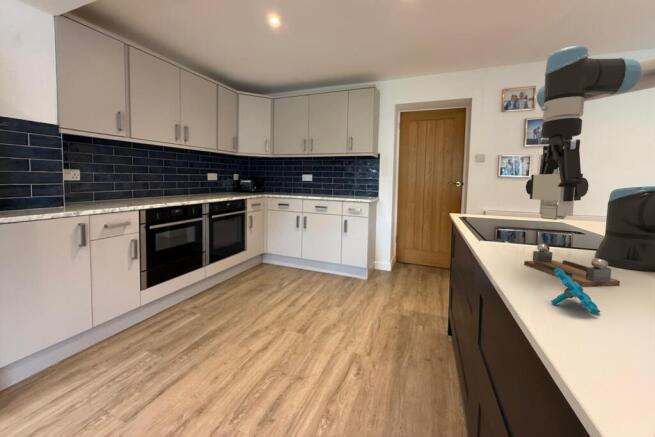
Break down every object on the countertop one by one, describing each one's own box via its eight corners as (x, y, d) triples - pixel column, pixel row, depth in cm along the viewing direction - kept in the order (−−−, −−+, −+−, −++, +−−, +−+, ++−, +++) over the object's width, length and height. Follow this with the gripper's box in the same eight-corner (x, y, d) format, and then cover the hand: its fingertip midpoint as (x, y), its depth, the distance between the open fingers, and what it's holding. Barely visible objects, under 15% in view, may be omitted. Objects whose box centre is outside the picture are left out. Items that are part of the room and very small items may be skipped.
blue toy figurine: (604, 315, 53) (558, 267, 57) (571, 331, 56) (529, 284, 60) (603, 305, 61) (563, 264, 66) (574, 319, 64) (537, 279, 68)
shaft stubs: (546, 260, 91) (547, 243, 90) (610, 281, 72) (612, 260, 72) (532, 260, 91) (534, 243, 90) (593, 281, 72) (595, 260, 71)
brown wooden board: (553, 264, 91) (554, 257, 91) (619, 285, 73) (620, 276, 72) (524, 264, 91) (524, 257, 90) (582, 286, 72) (583, 278, 72)
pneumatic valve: (573, 222, 68) (577, 168, 67) (523, 216, 79) (526, 170, 78) (588, 220, 70) (593, 168, 69) (537, 215, 81) (540, 170, 79)
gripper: (527, 128, 83) (522, 208, 86) (564, 111, 62) (556, 218, 65) (559, 126, 81) (553, 208, 84) (609, 107, 60) (599, 219, 62)
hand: (554, 213), depth 74 cm, fingers closed on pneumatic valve, 10 cm apart
